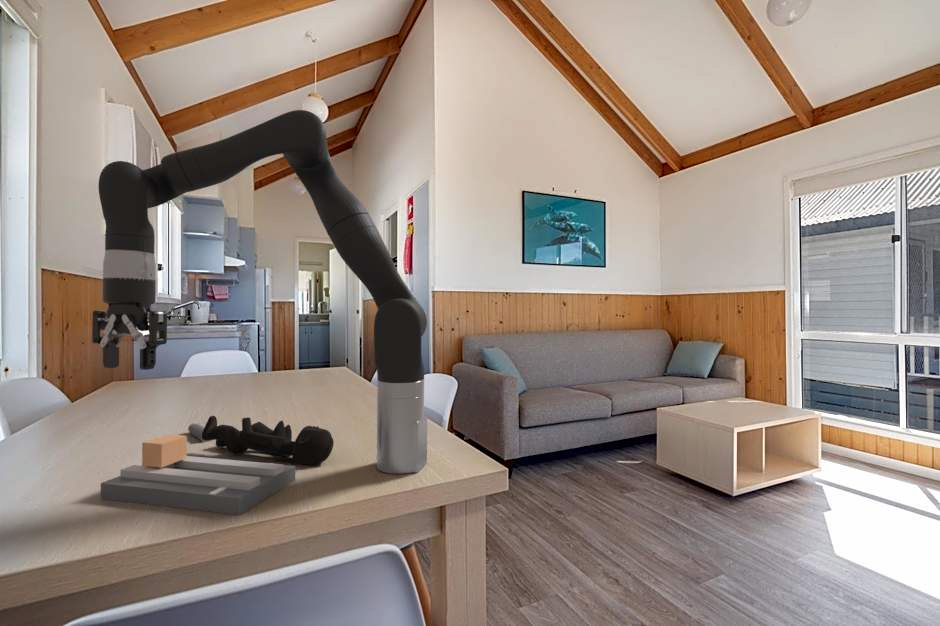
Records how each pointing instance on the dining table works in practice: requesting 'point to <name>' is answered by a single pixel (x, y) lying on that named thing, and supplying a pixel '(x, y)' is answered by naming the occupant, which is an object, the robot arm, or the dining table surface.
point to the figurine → (272, 441)
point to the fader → (164, 451)
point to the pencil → (197, 431)
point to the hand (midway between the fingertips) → (129, 368)
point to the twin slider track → (200, 484)
